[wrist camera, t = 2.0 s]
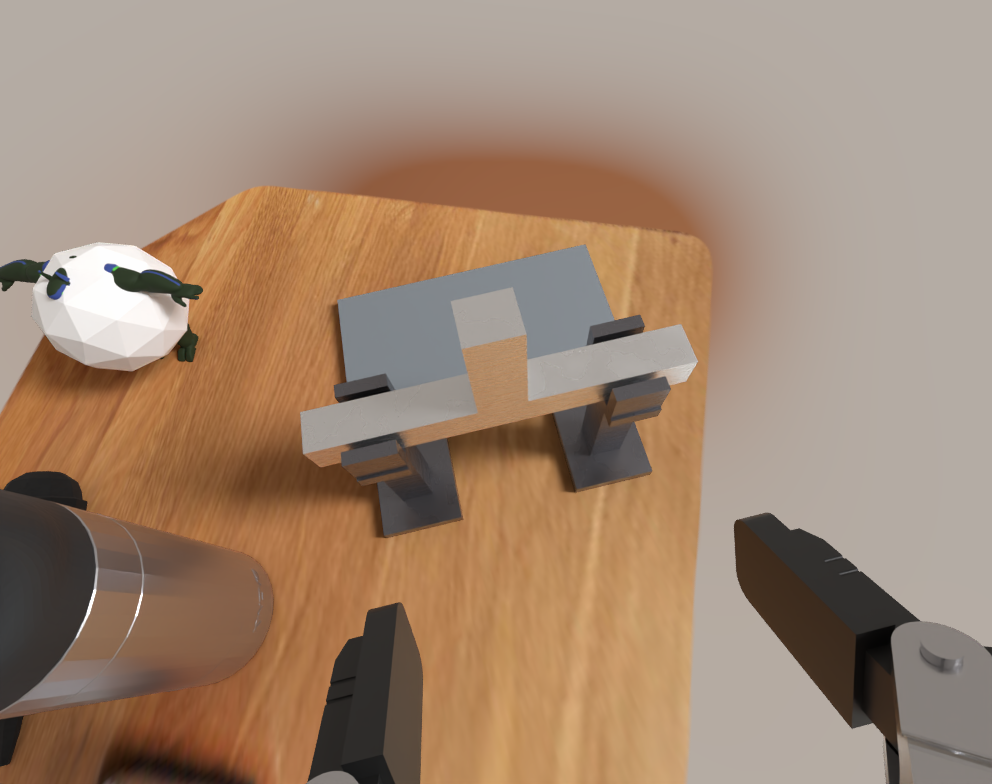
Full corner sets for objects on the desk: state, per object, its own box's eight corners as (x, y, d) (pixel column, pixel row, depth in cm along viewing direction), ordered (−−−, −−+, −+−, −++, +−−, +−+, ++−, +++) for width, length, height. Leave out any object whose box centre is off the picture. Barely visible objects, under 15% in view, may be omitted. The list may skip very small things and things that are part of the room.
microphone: (72, 743, 38) (101, 475, 44) (28, 769, 33) (68, 461, 39) (-19, 761, 37) (24, 480, 43) (-81, 791, 31) (-22, 467, 38)
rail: (320, 467, 30) (234, 401, 21) (317, 428, 31) (233, 350, 22) (685, 381, 31) (745, 284, 22) (670, 345, 32) (721, 239, 23)
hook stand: (387, 537, 40) (315, 492, 27) (376, 453, 43) (306, 375, 30) (649, 474, 41) (705, 399, 27) (621, 395, 43) (658, 294, 30)
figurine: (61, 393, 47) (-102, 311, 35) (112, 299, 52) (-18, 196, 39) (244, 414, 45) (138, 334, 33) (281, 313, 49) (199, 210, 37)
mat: (354, 419, 44) (350, 415, 43) (341, 306, 49) (337, 300, 48) (624, 356, 45) (626, 351, 44) (584, 251, 50) (585, 244, 49)
